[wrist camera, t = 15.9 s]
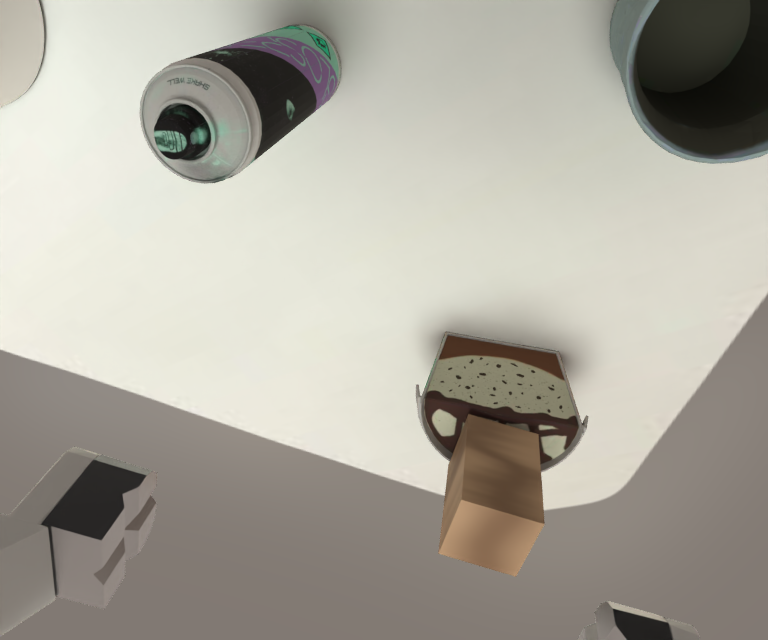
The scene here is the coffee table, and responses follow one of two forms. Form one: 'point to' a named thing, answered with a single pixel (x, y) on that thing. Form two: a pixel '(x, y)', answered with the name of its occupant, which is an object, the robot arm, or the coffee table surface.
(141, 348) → the coffee table surface
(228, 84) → the spray can
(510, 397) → the ice cream tub
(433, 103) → the coffee table surface
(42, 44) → the robot arm
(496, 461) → the walnut block
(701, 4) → the plant pot
